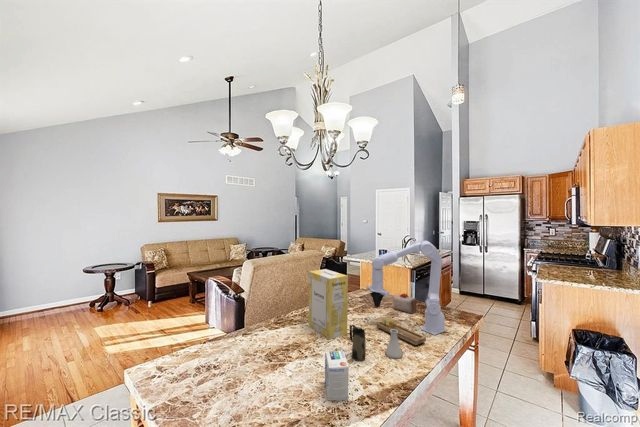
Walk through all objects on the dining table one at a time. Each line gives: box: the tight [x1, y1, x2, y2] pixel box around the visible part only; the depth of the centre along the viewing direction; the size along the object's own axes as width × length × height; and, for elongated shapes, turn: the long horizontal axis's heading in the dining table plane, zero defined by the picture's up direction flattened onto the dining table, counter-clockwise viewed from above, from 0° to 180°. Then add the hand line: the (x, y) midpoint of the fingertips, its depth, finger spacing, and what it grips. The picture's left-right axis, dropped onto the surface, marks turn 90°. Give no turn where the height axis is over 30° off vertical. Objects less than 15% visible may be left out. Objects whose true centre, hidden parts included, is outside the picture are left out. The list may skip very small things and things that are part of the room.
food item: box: [392, 293, 418, 315], centre depth 173 cm, size 14×8×10 cm, turn 43°
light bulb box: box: [324, 350, 350, 401], centre depth 97 cm, size 11×7×11 cm, turn 5°
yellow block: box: [380, 316, 396, 328], centre depth 145 cm, size 4×5×4 cm
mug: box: [348, 324, 367, 362], centre depth 119 cm, size 8×6×12 cm
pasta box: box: [308, 268, 349, 340], centre depth 145 cm, size 18×10×28 cm, turn 34°
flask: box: [384, 329, 404, 360], centre depth 120 cm, size 7×7×10 cm
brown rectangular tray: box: [375, 321, 427, 346], centre depth 138 cm, size 8×24×3 cm, turn 33°
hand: (377, 306), depth 151 cm, fingers closed
